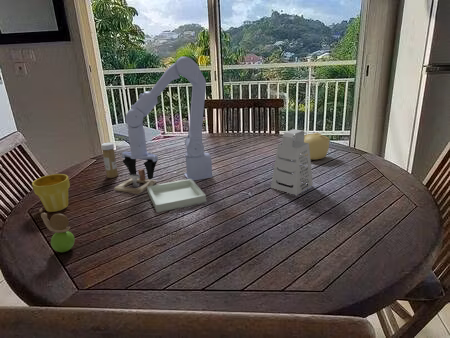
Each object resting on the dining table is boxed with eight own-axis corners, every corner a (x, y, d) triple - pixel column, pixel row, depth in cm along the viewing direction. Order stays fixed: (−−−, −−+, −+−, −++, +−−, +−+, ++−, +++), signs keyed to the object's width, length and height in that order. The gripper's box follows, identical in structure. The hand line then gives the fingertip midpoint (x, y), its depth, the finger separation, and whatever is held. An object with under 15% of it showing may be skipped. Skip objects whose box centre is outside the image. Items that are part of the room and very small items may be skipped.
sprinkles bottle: (119, 176, 133) (114, 143, 128) (108, 179, 130) (102, 146, 126) (116, 173, 136) (111, 141, 132) (105, 175, 134) (99, 143, 129)
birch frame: (138, 194, 116) (137, 180, 115) (114, 190, 120) (112, 177, 118) (155, 182, 125) (154, 170, 124) (132, 179, 129) (131, 167, 127)
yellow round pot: (331, 155, 148) (332, 131, 144) (322, 163, 138) (324, 138, 135) (306, 152, 154) (307, 129, 150) (296, 159, 144) (297, 135, 141)
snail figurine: (54, 245, 88) (44, 204, 83) (79, 243, 88) (70, 202, 84) (45, 257, 82) (34, 214, 78) (72, 255, 83) (62, 212, 79)
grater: (312, 186, 117) (316, 130, 110) (296, 196, 110) (299, 137, 103) (287, 179, 124) (289, 126, 117) (270, 188, 117) (271, 132, 110)
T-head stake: (129, 186, 123) (127, 175, 121) (132, 184, 124) (130, 173, 123) (139, 188, 121) (137, 176, 120) (142, 186, 123) (140, 174, 121)
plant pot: (38, 218, 102) (31, 188, 99) (39, 205, 111) (32, 177, 107) (75, 209, 107) (69, 181, 103) (72, 198, 115) (67, 171, 112)
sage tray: (191, 184, 122) (191, 178, 121) (206, 202, 108) (205, 195, 107) (147, 193, 117) (146, 186, 116) (156, 212, 103) (156, 205, 102)
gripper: (114, 143, 120) (119, 178, 125) (147, 147, 115) (152, 183, 120) (126, 138, 126) (131, 172, 131) (159, 141, 121) (163, 176, 126)
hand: (142, 177), depth 126 cm, fingers open, 7 cm apart
